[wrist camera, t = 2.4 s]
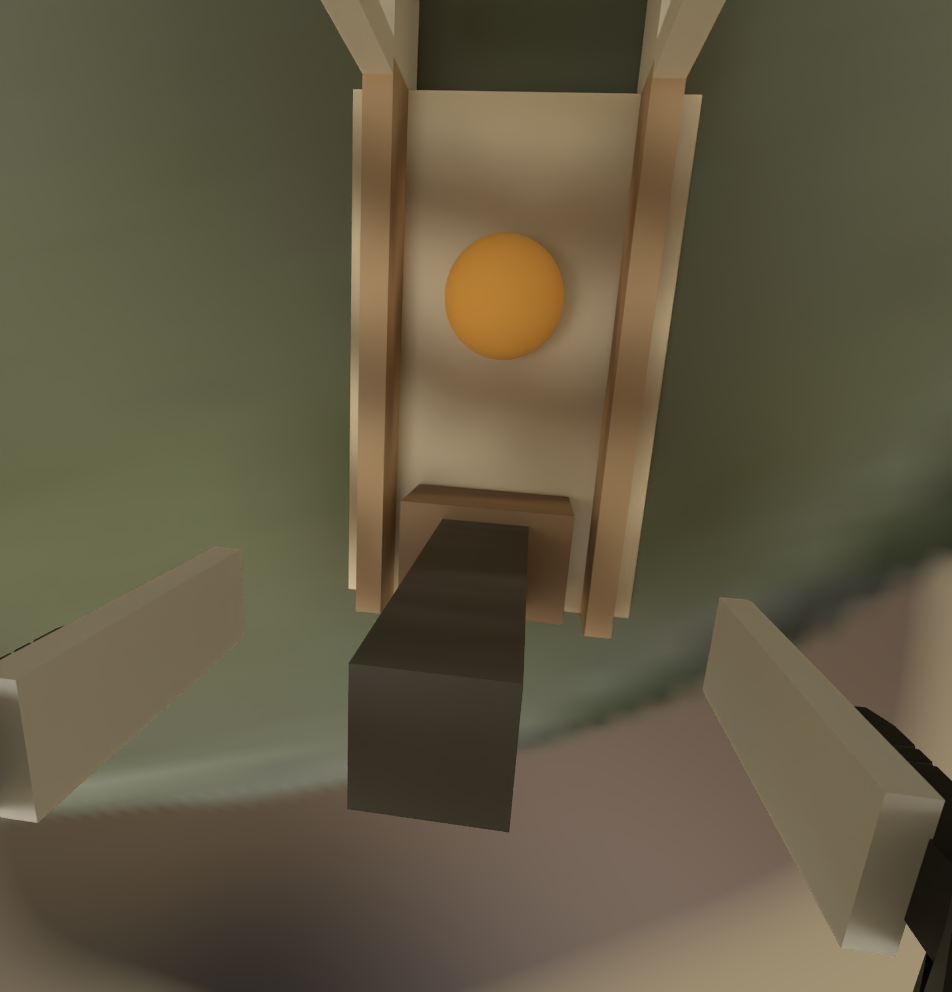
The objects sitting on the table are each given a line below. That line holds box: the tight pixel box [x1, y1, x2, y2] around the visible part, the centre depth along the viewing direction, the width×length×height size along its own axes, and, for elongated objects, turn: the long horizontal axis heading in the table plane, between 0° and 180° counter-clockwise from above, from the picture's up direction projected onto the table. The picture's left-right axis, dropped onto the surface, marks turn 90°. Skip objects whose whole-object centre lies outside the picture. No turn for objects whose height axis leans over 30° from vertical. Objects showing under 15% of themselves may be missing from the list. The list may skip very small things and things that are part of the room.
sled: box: [347, 484, 574, 832], centre depth 15 cm, size 4×6×12 cm, turn 86°
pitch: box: [349, 58, 702, 639], centre depth 20 cm, size 19×12×3 cm, turn 176°
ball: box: [445, 232, 564, 360], centre depth 18 cm, size 4×4×4 cm
